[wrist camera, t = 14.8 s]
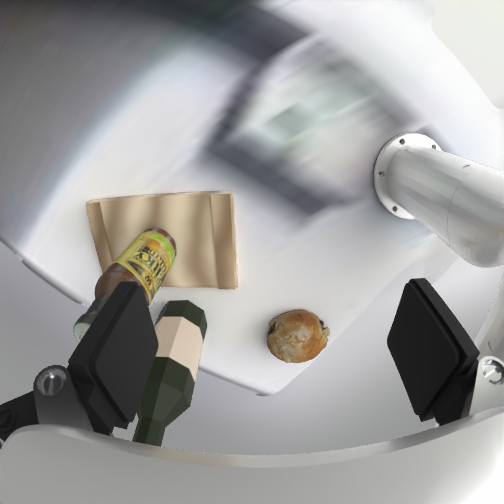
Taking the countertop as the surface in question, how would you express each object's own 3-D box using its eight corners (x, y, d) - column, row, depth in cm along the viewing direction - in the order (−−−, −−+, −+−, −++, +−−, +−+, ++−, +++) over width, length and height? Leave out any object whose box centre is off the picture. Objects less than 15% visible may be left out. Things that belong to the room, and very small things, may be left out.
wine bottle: (202, 340, 49) (171, 500, 22) (158, 328, 48) (105, 480, 21) (212, 307, 45) (176, 491, 18) (163, 293, 44) (93, 464, 17)
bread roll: (285, 292, 48) (266, 316, 41) (340, 315, 44) (329, 344, 38) (271, 333, 52) (253, 359, 45) (320, 354, 49) (308, 384, 42)
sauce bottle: (186, 257, 39) (138, 366, 21) (150, 269, 40) (92, 370, 22) (166, 217, 36) (94, 310, 19) (130, 232, 37) (52, 321, 20)
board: (233, 190, 36) (232, 194, 34) (238, 281, 42) (237, 289, 41) (90, 200, 37) (84, 204, 35) (109, 279, 43) (105, 285, 41)
